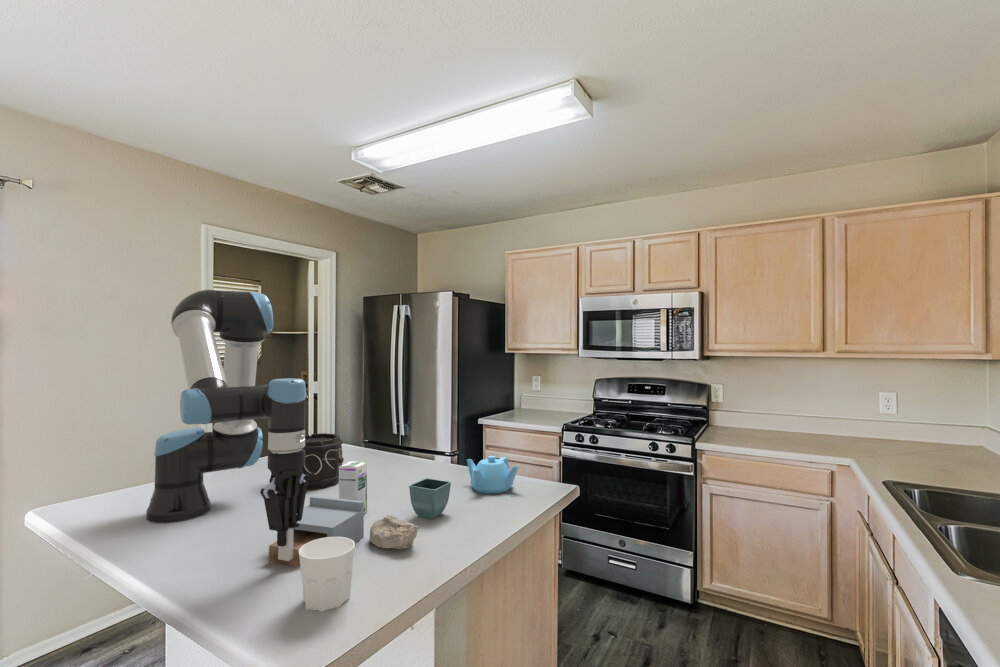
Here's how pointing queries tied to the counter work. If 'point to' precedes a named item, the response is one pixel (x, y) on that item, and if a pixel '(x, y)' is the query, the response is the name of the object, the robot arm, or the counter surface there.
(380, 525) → the stone
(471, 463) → the teapot
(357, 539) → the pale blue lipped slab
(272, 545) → the board
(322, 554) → the cup
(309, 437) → the coffee canister
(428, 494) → the flower pot
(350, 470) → the syrup box
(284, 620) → the counter surface
